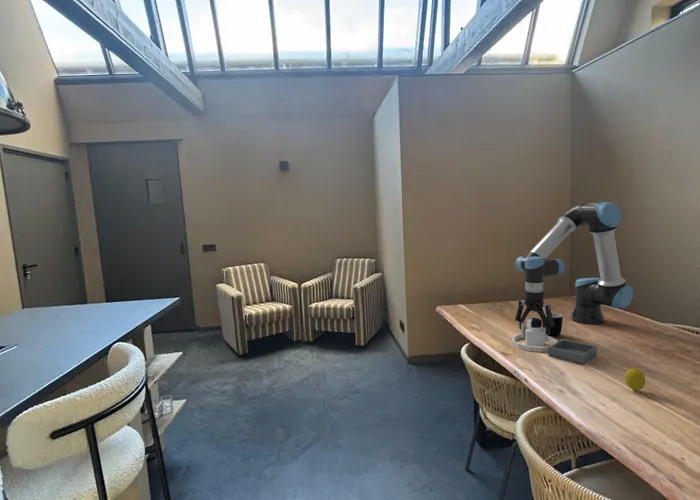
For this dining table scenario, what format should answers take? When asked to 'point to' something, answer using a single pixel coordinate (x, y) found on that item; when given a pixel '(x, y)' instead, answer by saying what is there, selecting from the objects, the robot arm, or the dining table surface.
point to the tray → (573, 351)
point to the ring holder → (531, 348)
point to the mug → (557, 328)
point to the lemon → (635, 379)
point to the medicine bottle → (534, 333)
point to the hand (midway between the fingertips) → (534, 338)
